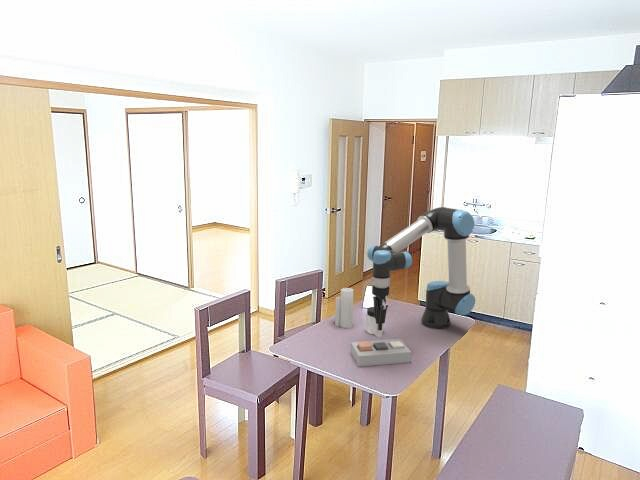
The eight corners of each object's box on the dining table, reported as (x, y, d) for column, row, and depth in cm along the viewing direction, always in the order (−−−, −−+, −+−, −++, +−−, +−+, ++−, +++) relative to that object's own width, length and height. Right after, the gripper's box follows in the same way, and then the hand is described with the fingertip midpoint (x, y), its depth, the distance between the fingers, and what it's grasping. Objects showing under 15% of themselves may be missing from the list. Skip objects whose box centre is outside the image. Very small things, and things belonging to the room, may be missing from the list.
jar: (363, 329, 245) (364, 307, 243) (377, 327, 249) (377, 305, 246) (371, 336, 237) (372, 313, 235) (385, 333, 241) (386, 311, 238)
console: (399, 348, 224) (400, 338, 223) (410, 362, 210) (411, 351, 209) (350, 352, 219) (350, 342, 218) (358, 366, 206) (359, 356, 205)
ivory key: (399, 347, 218) (399, 341, 218) (403, 351, 214) (403, 345, 213) (389, 347, 217) (389, 341, 217) (392, 352, 213) (393, 346, 212)
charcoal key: (383, 348, 217) (384, 342, 216) (387, 353, 212) (387, 346, 212) (373, 349, 216) (373, 343, 215) (376, 354, 211) (377, 347, 211)
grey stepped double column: (355, 325, 250) (356, 289, 246) (346, 329, 245) (347, 292, 241) (338, 320, 258) (339, 285, 253) (330, 323, 252) (330, 288, 248)
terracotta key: (368, 347, 215) (368, 341, 215) (371, 352, 211) (371, 346, 210) (357, 348, 214) (357, 342, 214) (360, 353, 210) (360, 347, 209)
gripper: (368, 281, 213) (366, 330, 218) (377, 290, 200) (375, 342, 205) (384, 280, 214) (382, 329, 219) (394, 289, 202) (391, 341, 207)
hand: (378, 335), depth 212 cm, fingers closed
